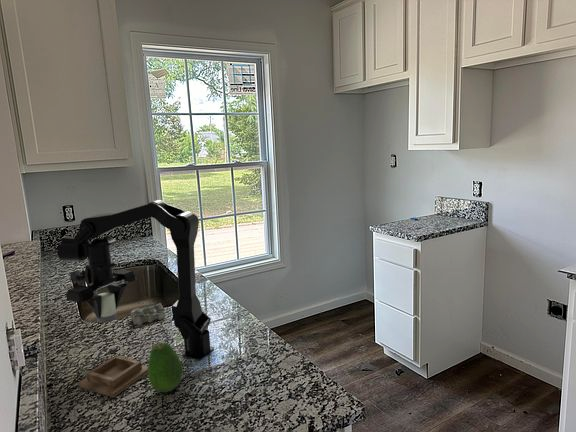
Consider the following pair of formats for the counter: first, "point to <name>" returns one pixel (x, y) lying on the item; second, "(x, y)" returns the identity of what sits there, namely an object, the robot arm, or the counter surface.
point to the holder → (114, 376)
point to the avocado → (164, 368)
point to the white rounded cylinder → (107, 308)
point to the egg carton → (147, 314)
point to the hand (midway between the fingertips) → (106, 313)
